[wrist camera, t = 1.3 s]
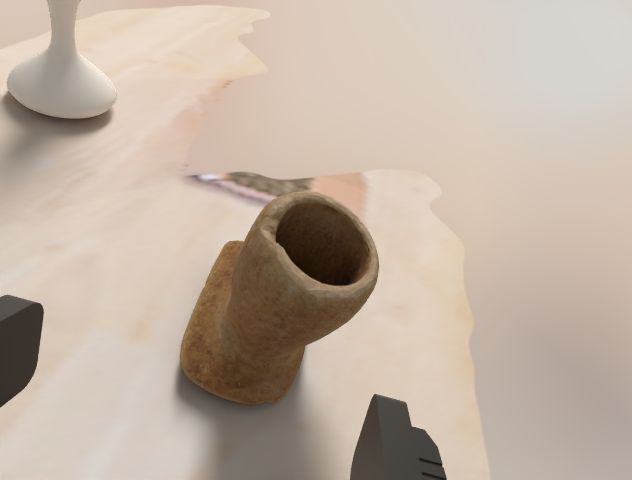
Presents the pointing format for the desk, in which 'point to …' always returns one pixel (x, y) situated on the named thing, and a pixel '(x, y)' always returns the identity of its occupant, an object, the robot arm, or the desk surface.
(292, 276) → the brown hollow flared cylinder
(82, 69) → the flower in vase
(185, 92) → the desk surface
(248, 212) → the desk surface
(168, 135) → the desk surface
